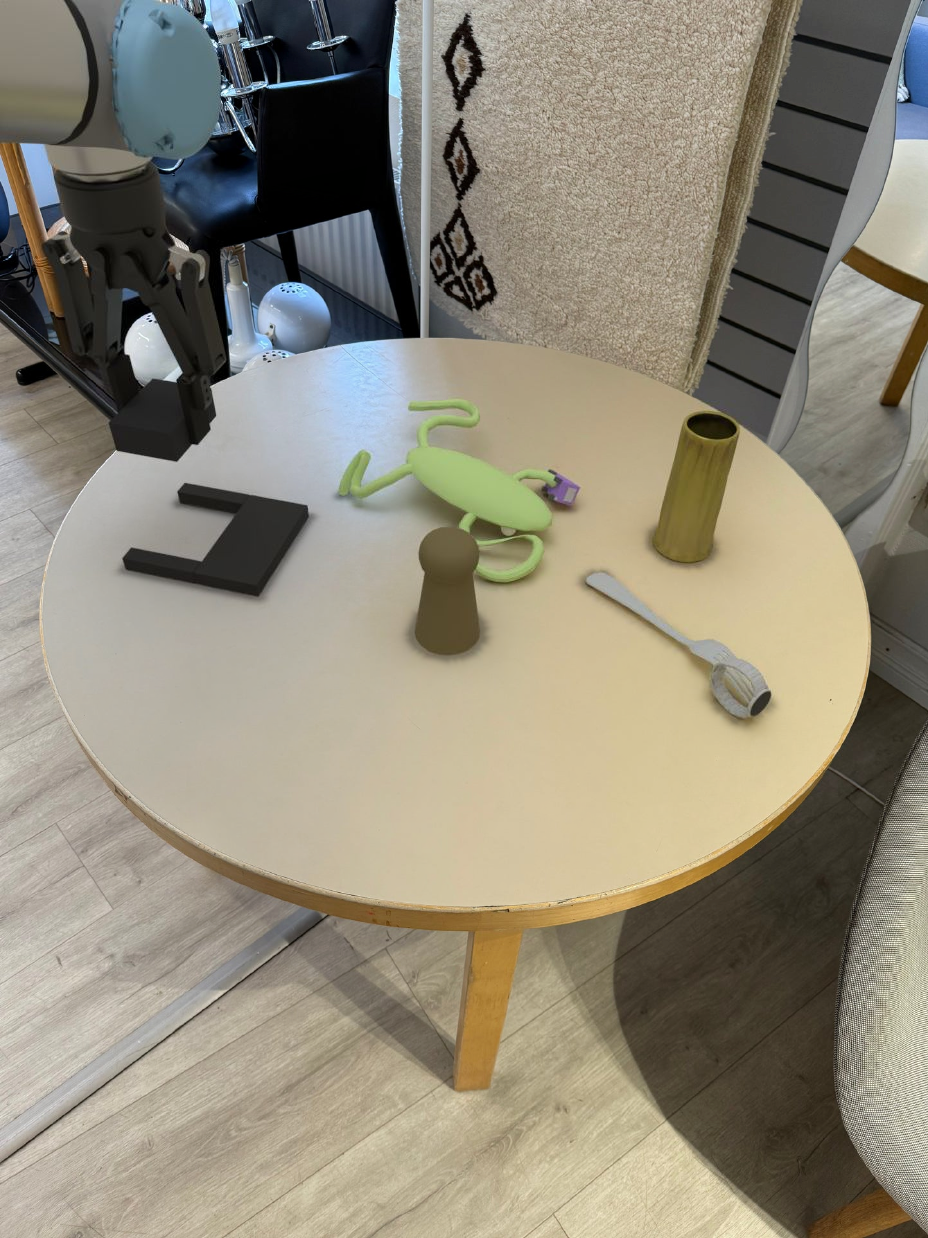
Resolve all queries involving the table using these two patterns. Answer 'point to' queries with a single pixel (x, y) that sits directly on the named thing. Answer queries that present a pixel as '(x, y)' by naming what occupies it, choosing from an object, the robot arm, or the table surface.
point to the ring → (756, 679)
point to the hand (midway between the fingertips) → (167, 430)
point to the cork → (448, 592)
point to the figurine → (472, 486)
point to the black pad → (231, 542)
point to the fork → (669, 628)
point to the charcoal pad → (154, 423)
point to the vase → (696, 486)
